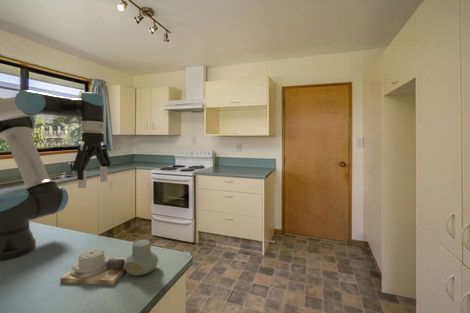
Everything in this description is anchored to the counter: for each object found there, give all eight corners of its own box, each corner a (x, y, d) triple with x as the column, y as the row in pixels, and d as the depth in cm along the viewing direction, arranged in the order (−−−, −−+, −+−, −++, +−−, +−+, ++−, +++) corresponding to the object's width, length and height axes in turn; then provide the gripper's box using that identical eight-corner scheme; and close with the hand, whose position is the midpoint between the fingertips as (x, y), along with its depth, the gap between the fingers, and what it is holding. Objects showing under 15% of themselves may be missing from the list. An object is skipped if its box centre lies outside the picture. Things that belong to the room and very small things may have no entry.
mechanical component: (66, 272, 74) (94, 275, 73) (66, 259, 74) (94, 262, 73) (89, 256, 84) (114, 259, 83) (89, 245, 84) (114, 247, 83)
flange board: (60, 282, 72) (59, 268, 72) (87, 260, 85) (87, 248, 85) (113, 285, 72) (113, 270, 72) (132, 262, 85) (132, 250, 84)
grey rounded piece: (119, 274, 77) (119, 246, 77) (135, 262, 86) (135, 236, 85) (148, 280, 75) (148, 250, 74) (161, 266, 83) (162, 240, 82)
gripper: (80, 131, 79) (81, 191, 81) (118, 133, 104) (119, 179, 106) (59, 130, 80) (60, 190, 81) (102, 133, 105) (103, 179, 106)
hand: (93, 184), depth 93 cm, fingers open, 13 cm apart
